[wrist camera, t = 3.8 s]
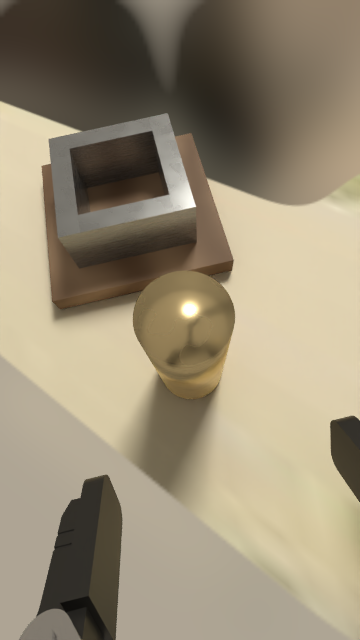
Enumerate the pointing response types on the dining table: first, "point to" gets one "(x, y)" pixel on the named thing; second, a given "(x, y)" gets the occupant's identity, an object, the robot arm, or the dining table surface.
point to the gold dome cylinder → (185, 330)
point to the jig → (127, 211)
